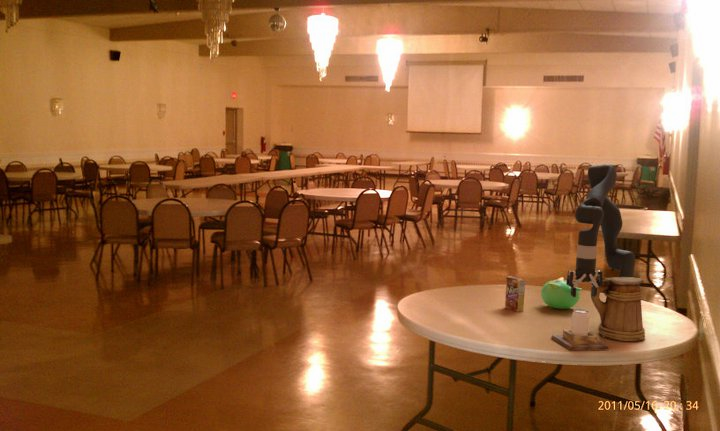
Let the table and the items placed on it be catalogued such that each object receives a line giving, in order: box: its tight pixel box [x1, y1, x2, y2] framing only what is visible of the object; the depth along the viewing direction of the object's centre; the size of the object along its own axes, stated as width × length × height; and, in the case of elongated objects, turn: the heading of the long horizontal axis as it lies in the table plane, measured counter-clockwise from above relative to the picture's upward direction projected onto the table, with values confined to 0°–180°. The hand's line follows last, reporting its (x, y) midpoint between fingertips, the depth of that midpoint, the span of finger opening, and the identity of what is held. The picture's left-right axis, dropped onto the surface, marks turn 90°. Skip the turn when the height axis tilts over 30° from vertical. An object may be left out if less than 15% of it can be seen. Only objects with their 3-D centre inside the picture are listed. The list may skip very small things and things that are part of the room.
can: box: [570, 308, 590, 336], centre depth 278 cm, size 6×6×12 cm
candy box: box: [504, 275, 526, 312], centre depth 331 cm, size 9×4×15 cm, turn 31°
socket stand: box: [551, 329, 609, 351], centre depth 279 cm, size 16×16×4 cm
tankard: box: [590, 276, 646, 342], centre depth 292 cm, size 18×24×25 cm
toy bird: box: [540, 276, 583, 310], centre depth 337 cm, size 18×17×15 cm
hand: (583, 296), depth 277 cm, fingers open, 8 cm apart
